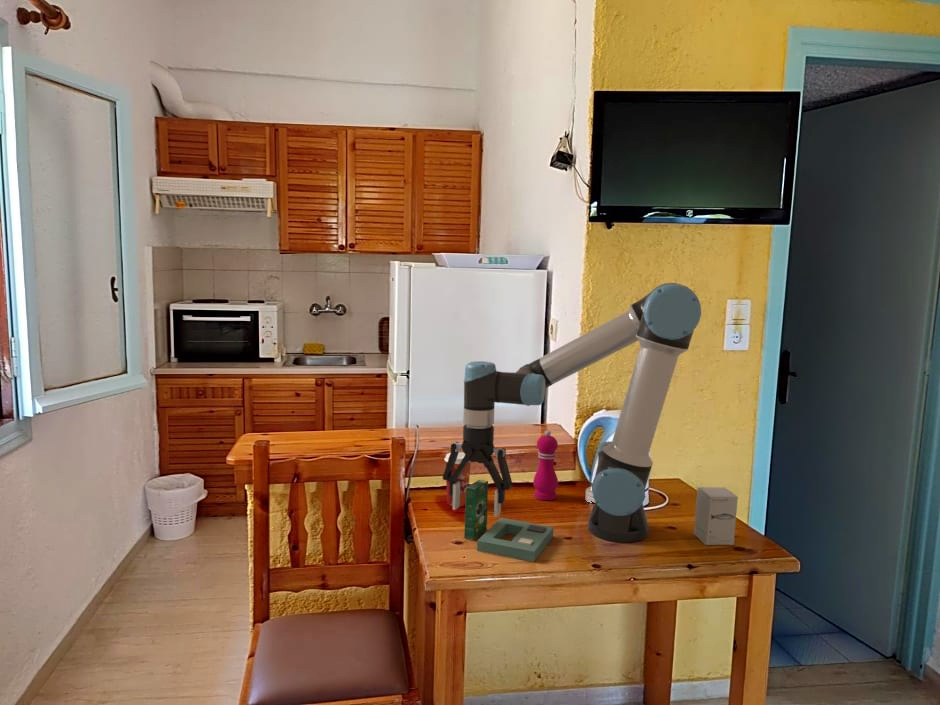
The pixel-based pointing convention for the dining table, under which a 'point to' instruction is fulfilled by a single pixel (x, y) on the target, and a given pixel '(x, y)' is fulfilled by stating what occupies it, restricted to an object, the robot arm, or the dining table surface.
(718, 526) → the supplement box
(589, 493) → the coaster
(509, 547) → the socket board
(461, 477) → the paper cup
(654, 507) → the dining table surface
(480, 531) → the coffee box
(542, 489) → the pepper mill
